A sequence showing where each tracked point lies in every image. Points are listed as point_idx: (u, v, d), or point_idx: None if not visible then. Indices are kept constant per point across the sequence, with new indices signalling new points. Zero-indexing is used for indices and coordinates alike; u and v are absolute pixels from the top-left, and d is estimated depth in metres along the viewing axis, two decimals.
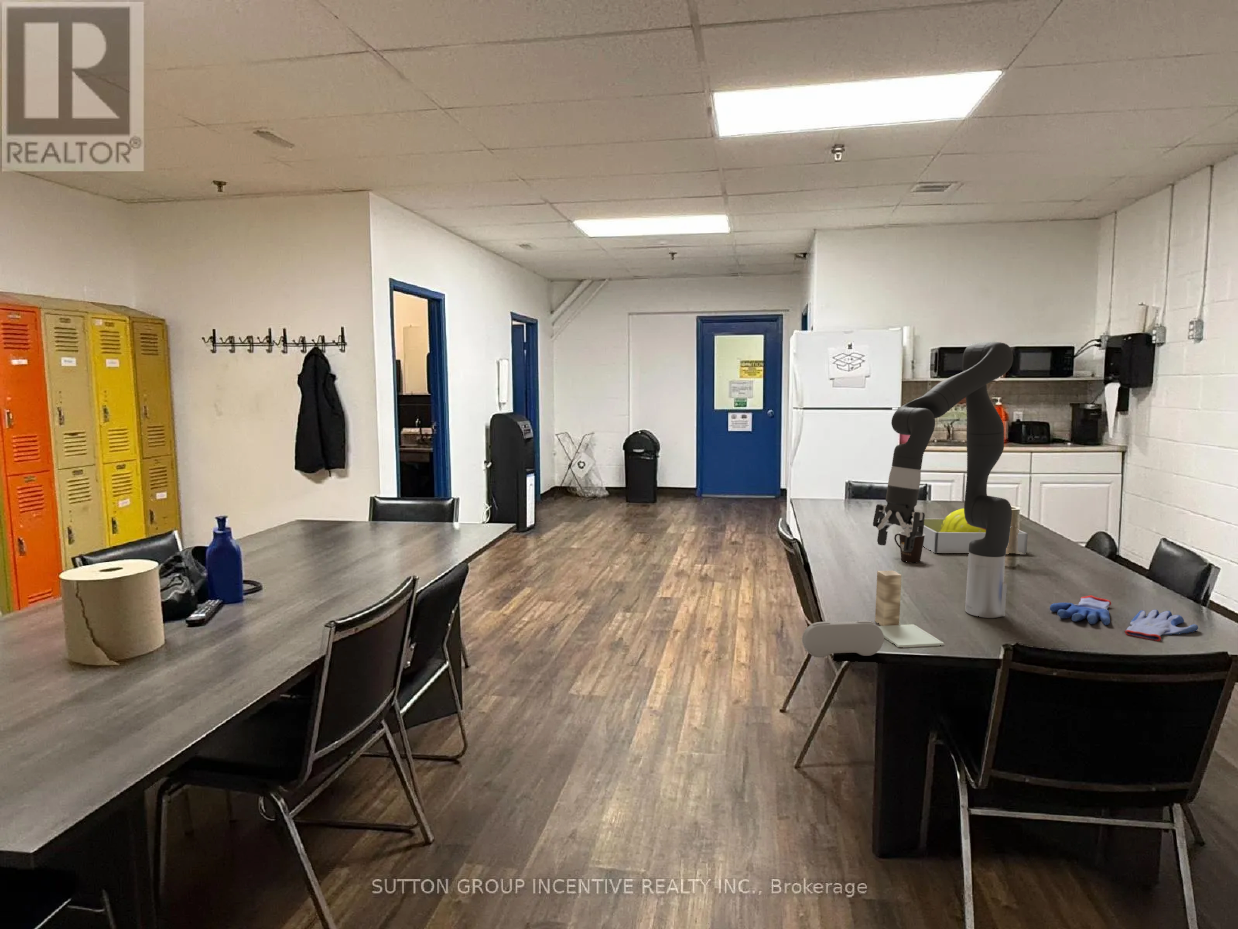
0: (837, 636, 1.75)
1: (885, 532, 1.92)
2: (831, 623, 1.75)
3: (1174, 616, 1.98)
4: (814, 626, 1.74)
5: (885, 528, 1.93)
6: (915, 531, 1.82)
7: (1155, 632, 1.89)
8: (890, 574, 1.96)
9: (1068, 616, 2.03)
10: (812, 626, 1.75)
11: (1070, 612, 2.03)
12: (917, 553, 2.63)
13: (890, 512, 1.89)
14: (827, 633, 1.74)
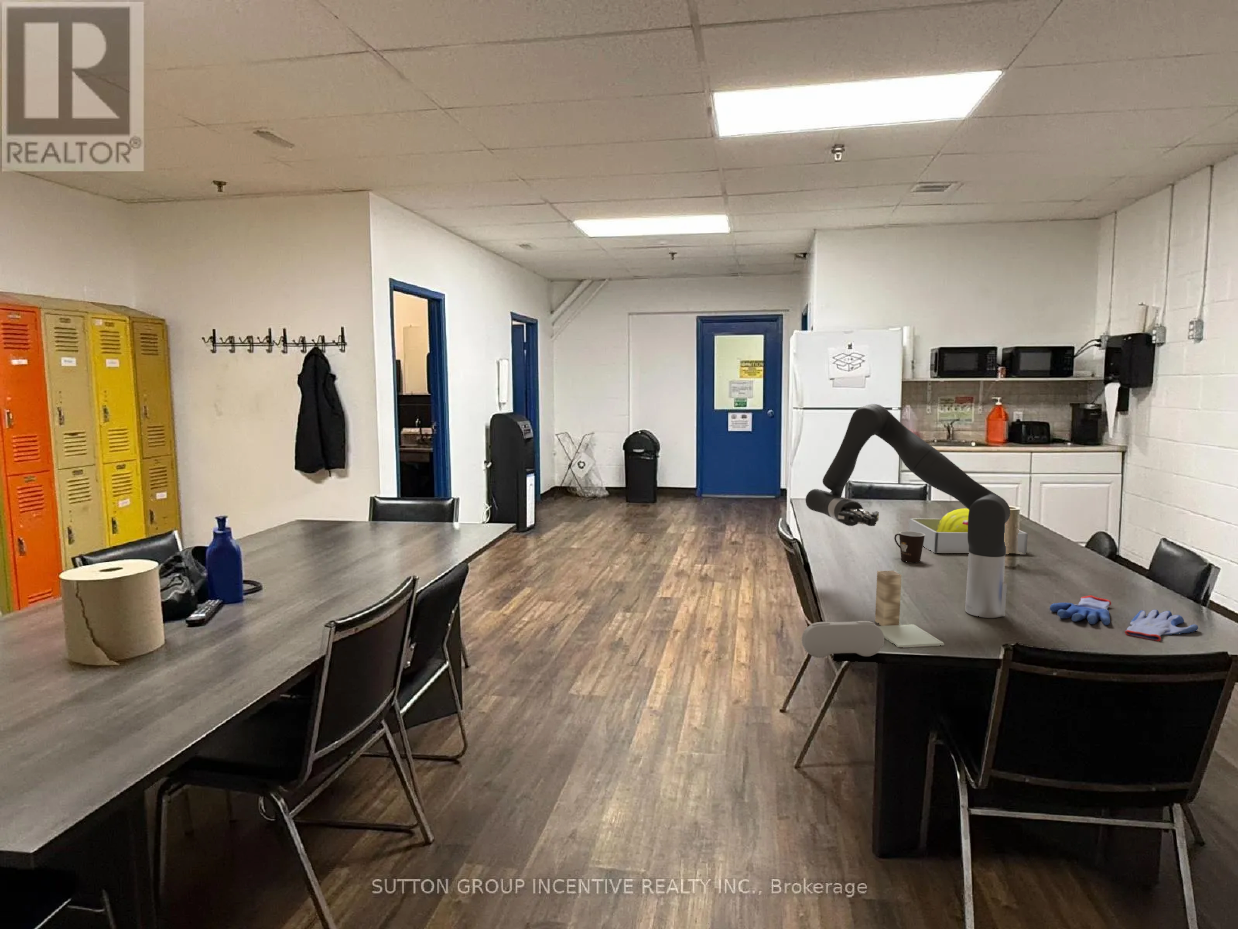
0: (836, 636, 1.74)
1: None
2: (831, 623, 1.75)
3: (1174, 616, 1.98)
4: (814, 626, 1.74)
5: None
6: (853, 522, 2.11)
7: (1155, 632, 1.89)
8: (890, 574, 1.96)
9: (1068, 616, 2.03)
10: (812, 626, 1.74)
11: (1070, 612, 2.03)
12: (917, 553, 2.63)
13: None
14: (827, 633, 1.74)
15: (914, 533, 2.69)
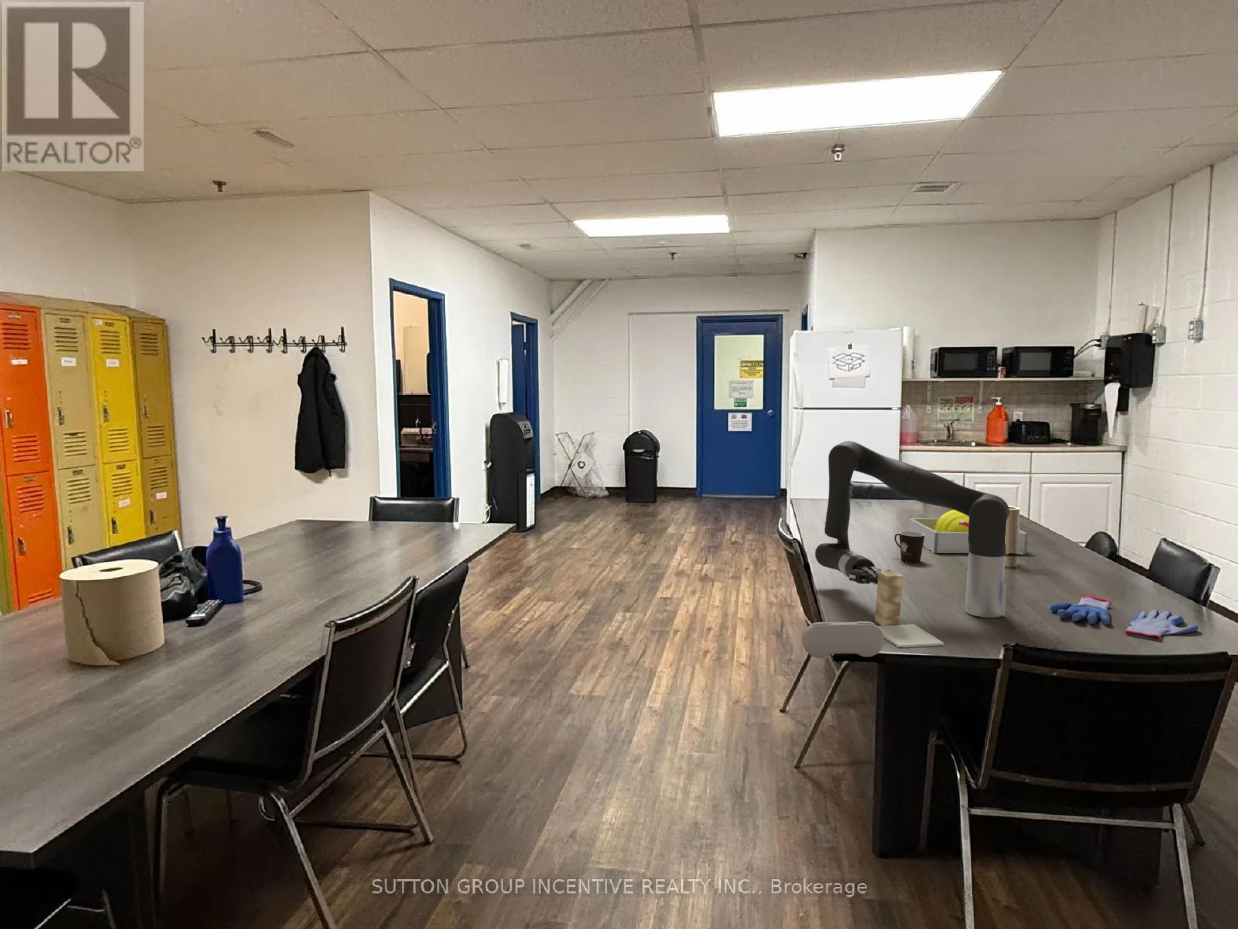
0: (836, 636, 1.74)
1: None
2: (831, 623, 1.75)
3: (1174, 616, 1.98)
4: (813, 626, 1.74)
5: None
6: None
7: (1155, 632, 1.89)
8: (891, 575, 1.95)
9: (1068, 616, 2.03)
10: (811, 626, 1.74)
11: (1070, 612, 2.03)
12: (917, 553, 2.63)
13: None
14: (826, 633, 1.74)
15: (914, 533, 2.69)
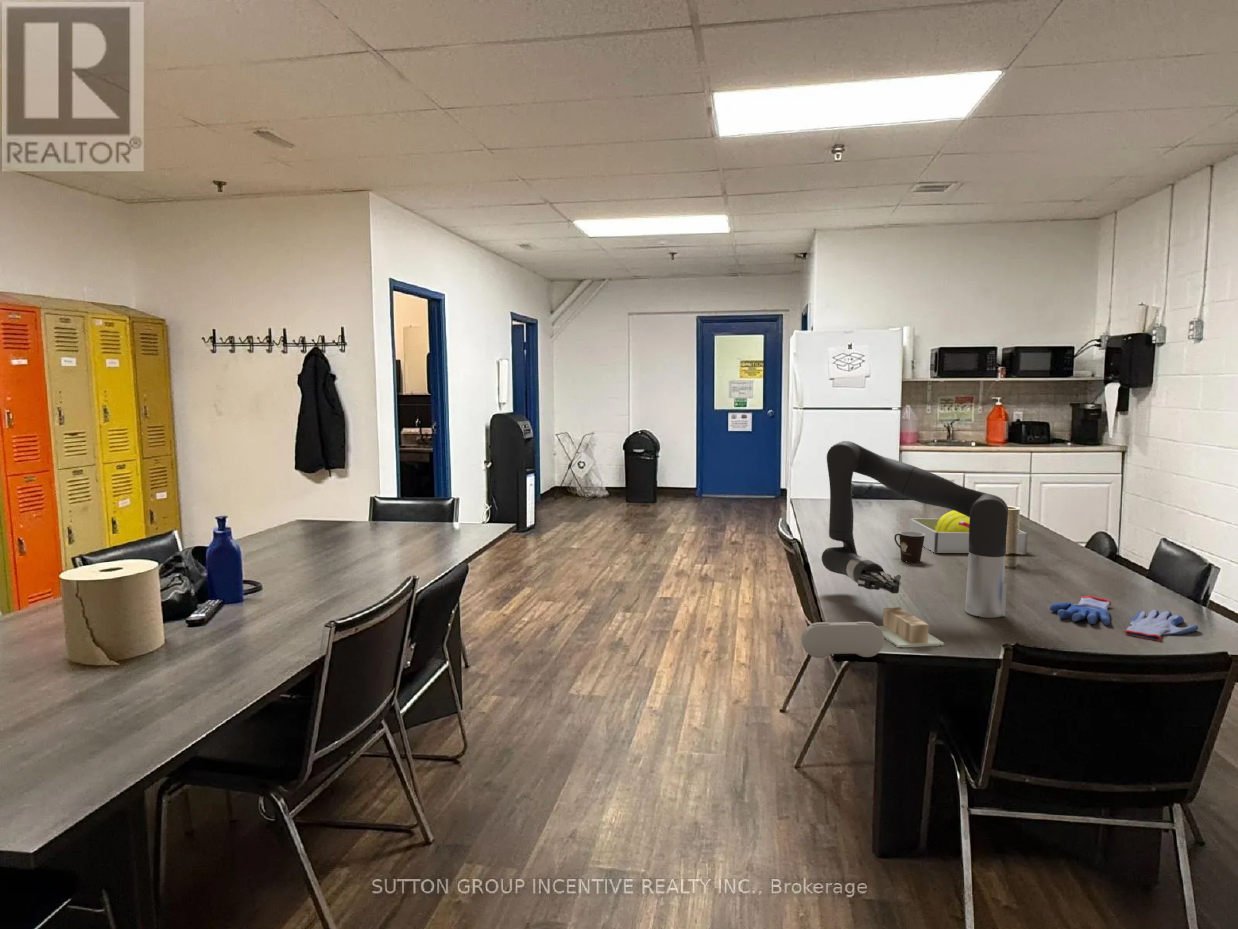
0: (836, 636, 1.74)
1: None
2: (830, 624, 1.75)
3: (1174, 616, 1.98)
4: (813, 626, 1.74)
5: None
6: None
7: (1155, 632, 1.89)
8: (918, 639, 1.83)
9: (1068, 616, 2.03)
10: (811, 626, 1.74)
11: (1070, 612, 2.03)
12: (917, 553, 2.63)
13: None
14: (826, 633, 1.74)
15: (914, 533, 2.69)
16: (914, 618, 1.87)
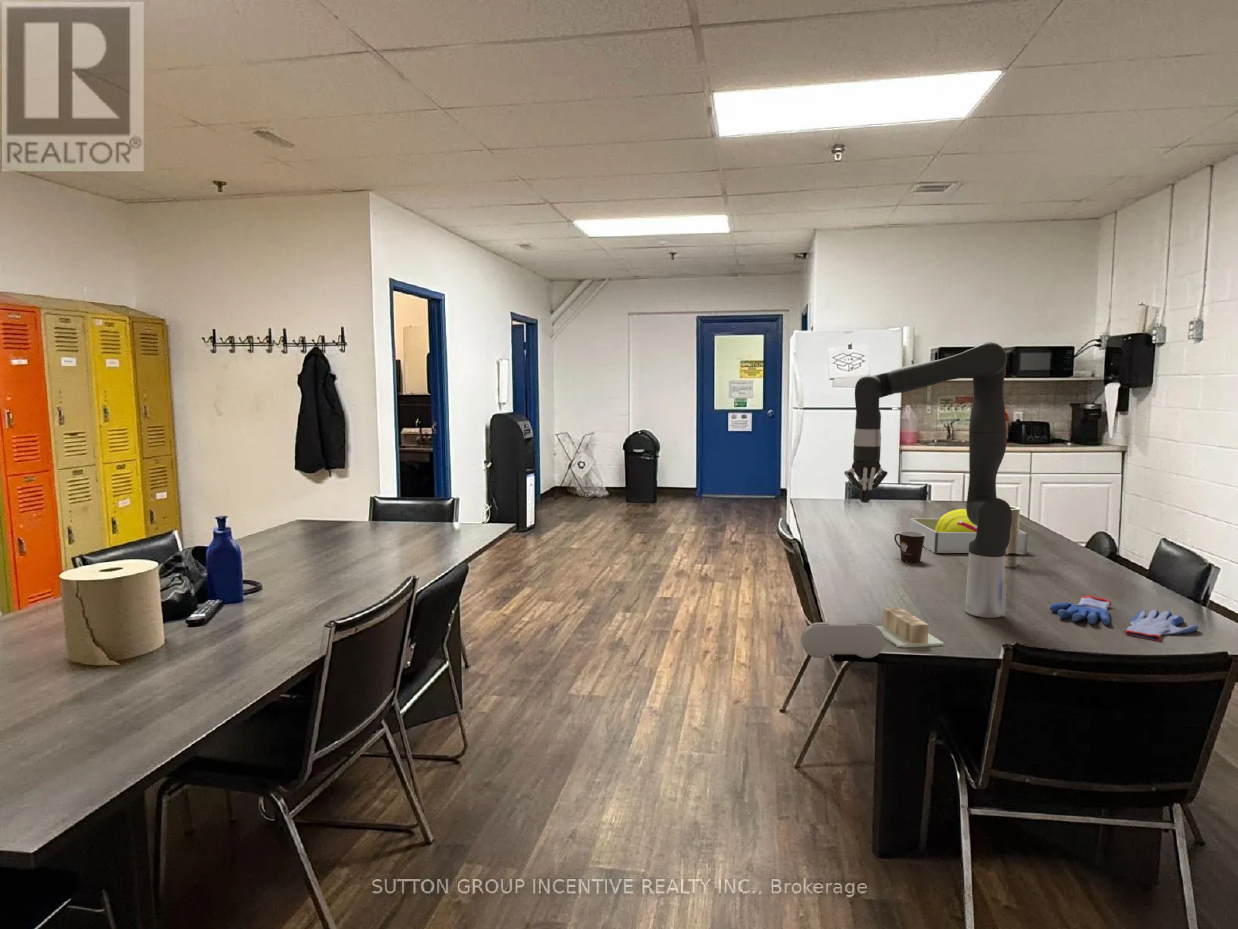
0: (836, 637, 1.74)
1: None
2: (830, 624, 1.74)
3: (1174, 616, 1.98)
4: (812, 626, 1.74)
5: (867, 486, 2.18)
6: None
7: (1155, 632, 1.89)
8: (918, 639, 1.83)
9: (1068, 616, 2.03)
10: (810, 626, 1.74)
11: (1070, 612, 2.03)
12: (917, 553, 2.63)
13: None
14: (826, 634, 1.74)
15: (914, 533, 2.69)
16: (914, 618, 1.87)
